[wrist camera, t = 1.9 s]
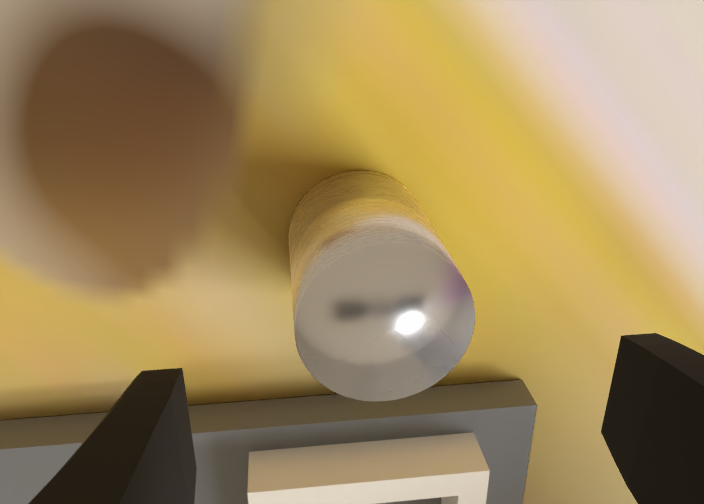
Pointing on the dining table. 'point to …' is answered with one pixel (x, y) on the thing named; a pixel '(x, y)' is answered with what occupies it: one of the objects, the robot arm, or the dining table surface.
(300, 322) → the pin
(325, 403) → the board
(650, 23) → the dining table surface
